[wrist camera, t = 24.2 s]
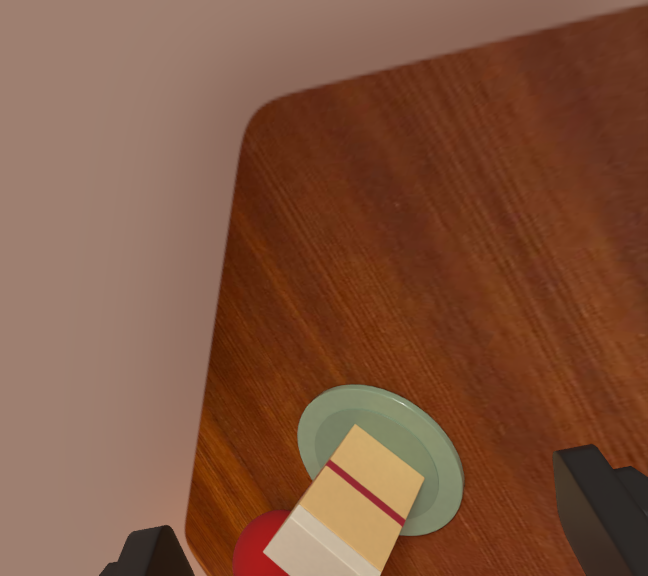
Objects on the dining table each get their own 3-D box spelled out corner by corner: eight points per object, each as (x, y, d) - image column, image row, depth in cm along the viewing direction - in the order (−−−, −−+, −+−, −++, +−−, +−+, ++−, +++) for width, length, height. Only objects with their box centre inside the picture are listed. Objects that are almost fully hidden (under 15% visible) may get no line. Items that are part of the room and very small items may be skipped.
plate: (292, 369, 37) (287, 374, 36) (466, 405, 31) (463, 411, 31) (309, 501, 41) (305, 507, 41) (463, 552, 36) (461, 560, 35)
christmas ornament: (330, 574, 44) (264, 694, 36) (260, 527, 46) (182, 631, 38) (351, 523, 40) (282, 644, 32) (273, 475, 42) (190, 578, 34)
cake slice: (355, 422, 35) (289, 516, 28) (425, 477, 34) (375, 588, 27) (328, 458, 38) (262, 552, 31) (393, 510, 37) (339, 619, 30)
